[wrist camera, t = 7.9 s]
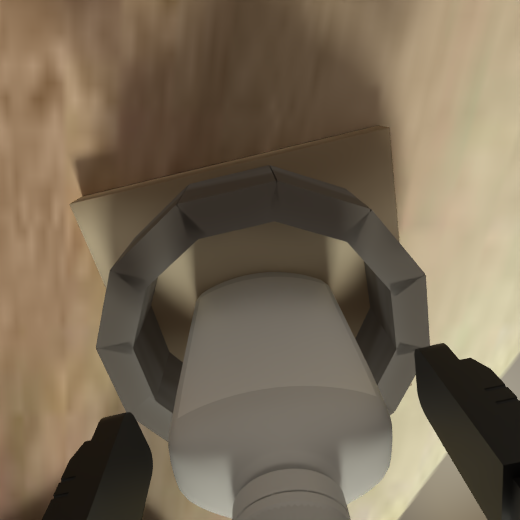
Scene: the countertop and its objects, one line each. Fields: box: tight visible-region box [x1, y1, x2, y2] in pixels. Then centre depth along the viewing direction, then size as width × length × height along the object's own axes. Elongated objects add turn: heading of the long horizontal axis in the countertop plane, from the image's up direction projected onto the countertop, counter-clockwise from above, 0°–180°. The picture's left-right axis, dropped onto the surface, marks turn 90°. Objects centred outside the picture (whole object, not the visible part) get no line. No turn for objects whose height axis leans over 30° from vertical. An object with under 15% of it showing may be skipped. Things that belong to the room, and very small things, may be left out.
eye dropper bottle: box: [168, 272, 392, 520], centre depth 11 cm, size 4×6×12 cm
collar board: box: [70, 126, 430, 442], centre depth 15 cm, size 12×12×4 cm
